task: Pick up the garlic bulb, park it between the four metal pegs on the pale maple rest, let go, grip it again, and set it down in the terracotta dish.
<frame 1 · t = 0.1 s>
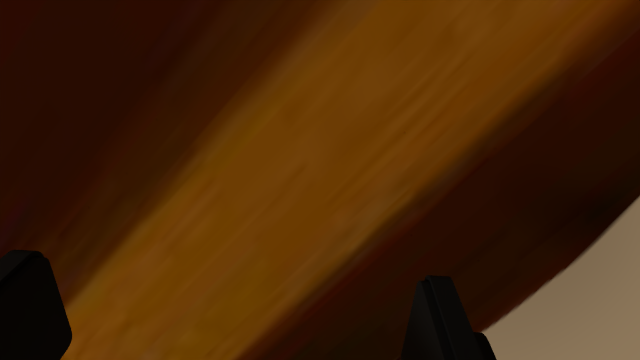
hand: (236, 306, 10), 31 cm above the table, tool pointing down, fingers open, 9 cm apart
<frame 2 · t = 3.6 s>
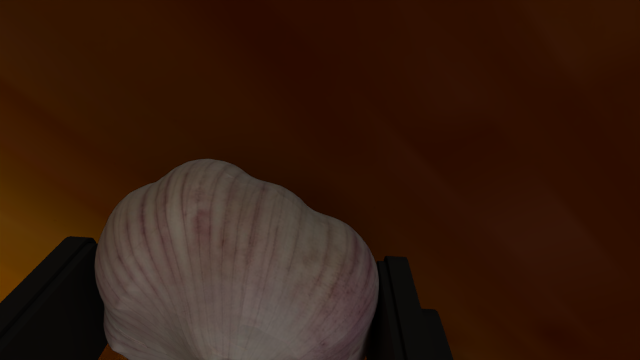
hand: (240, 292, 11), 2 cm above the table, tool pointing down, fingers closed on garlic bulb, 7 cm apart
garlic bulb: (256, 243, 13), on the table, touching gripper
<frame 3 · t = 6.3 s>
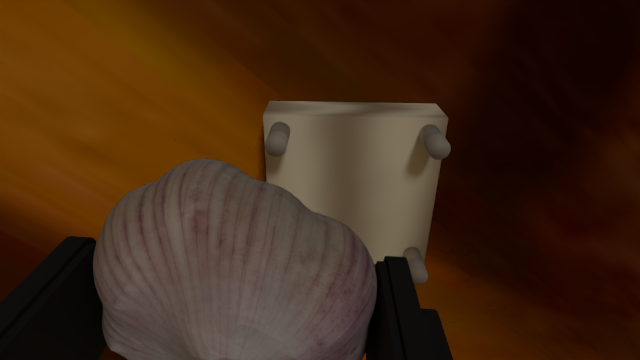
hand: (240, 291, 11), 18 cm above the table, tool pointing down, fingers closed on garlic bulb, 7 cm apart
peg rest: (348, 176, 29), on the table
garlic bulb: (254, 243, 13), point 15 cm above the table, touching gripper
when the fingers open (6 cm above the table, at t = 9.5 s): garlic bulb drops 1 cm, resting on peg rest.
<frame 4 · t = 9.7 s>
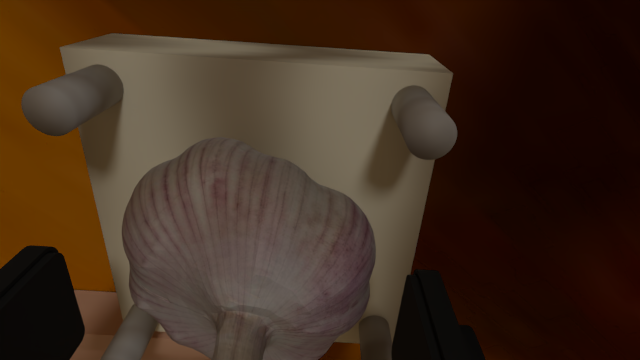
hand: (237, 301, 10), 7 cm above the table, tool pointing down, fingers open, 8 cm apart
peg rest: (270, 183, 16), on the table
garlic bulb: (264, 218, 14), point 3 cm above the table, touching peg rest
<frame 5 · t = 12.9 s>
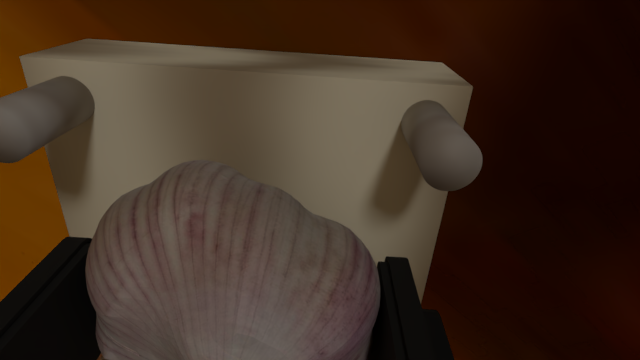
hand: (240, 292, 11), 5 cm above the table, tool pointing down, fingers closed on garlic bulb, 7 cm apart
peg rest: (265, 203, 15), on the table
garlic bulb: (254, 246, 12), point 3 cm above the table, touching gripper, peg rest
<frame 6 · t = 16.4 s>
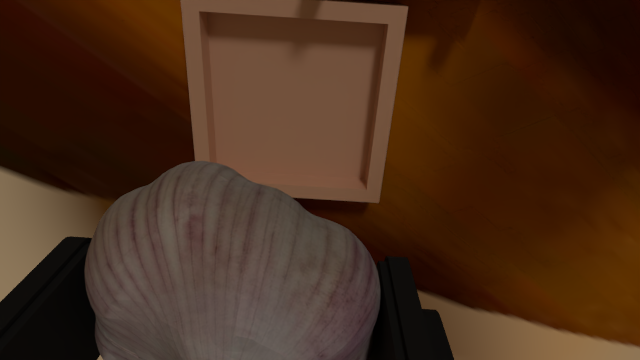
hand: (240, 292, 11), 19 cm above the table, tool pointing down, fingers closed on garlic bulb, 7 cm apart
garlic bulb: (253, 247, 12), point 17 cm above the table, touching gripper
terracotta dish: (294, 98, 28), on the table
when the fingers open (4 cm above the table, at t = 19.7 s): garlic bulb drops 1 cm, resting on terracotta dish.
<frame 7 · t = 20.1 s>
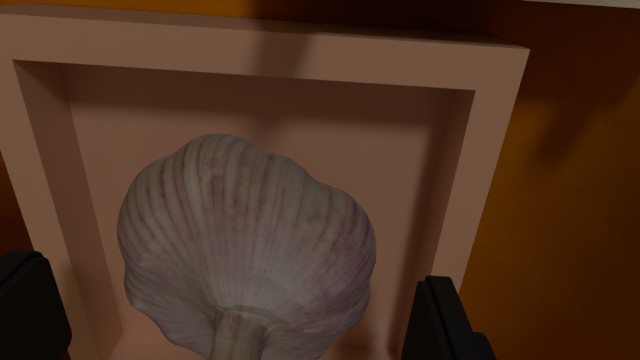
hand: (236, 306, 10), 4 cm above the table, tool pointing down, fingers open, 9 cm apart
garlic bulb: (262, 217, 13), point 1 cm above the table, touching terracotta dish
terracotta dish: (262, 214, 14), on the table
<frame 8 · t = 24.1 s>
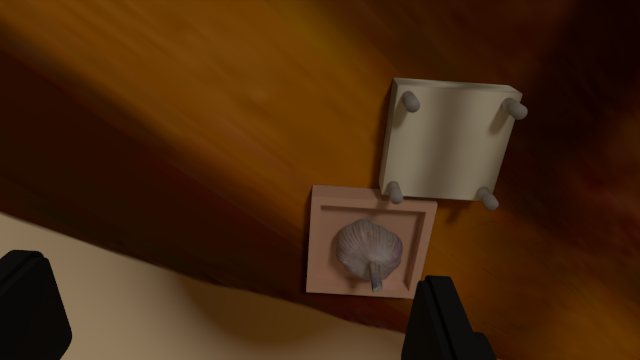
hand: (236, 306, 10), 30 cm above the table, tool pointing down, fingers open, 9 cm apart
peg rest: (439, 136, 40), on the table
garlic bulb: (367, 238, 45), point 1 cm above the table, touching terracotta dish
terracotta dish: (365, 237, 46), on the table
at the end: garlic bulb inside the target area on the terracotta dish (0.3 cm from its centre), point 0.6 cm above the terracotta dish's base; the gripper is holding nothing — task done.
